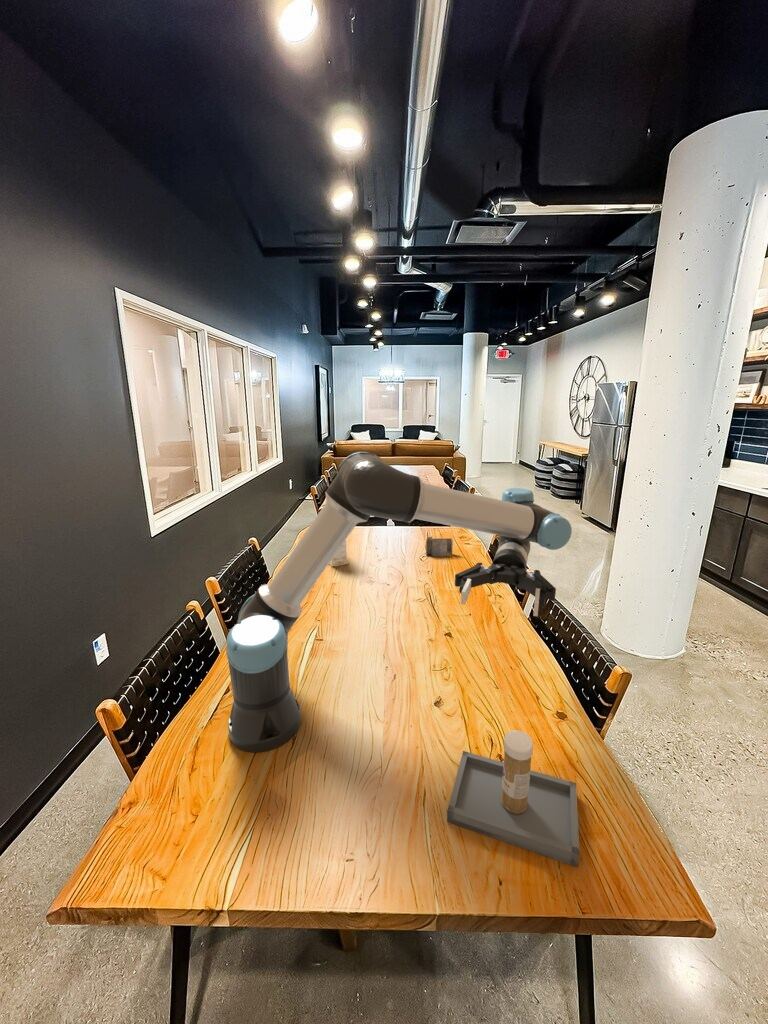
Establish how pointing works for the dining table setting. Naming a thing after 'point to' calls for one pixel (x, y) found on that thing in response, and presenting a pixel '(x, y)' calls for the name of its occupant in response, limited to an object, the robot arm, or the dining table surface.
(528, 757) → the sprinkles bottle
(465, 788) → the tray
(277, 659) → the robot arm
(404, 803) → the dining table surface
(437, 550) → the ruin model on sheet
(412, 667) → the dining table surface
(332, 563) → the coffeecake box
